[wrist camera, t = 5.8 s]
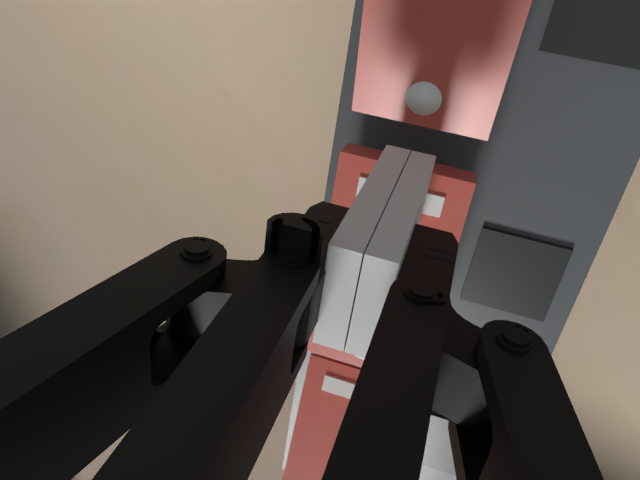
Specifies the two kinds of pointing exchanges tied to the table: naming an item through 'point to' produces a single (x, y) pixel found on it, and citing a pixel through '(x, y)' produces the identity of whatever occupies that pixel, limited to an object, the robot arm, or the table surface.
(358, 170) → the rocker
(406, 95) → the rocker
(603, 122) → the power strip
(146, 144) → the table surface
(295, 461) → the red rectangular panel
